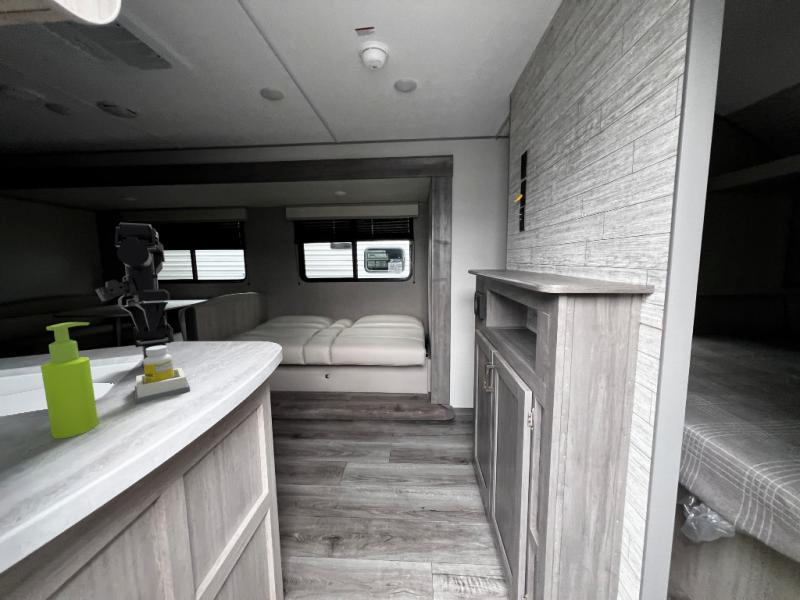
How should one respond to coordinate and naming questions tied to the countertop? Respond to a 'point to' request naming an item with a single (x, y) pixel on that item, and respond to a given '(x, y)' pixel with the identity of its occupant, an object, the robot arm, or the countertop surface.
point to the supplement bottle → (158, 364)
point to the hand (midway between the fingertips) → (146, 331)
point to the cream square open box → (160, 387)
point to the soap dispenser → (68, 386)
